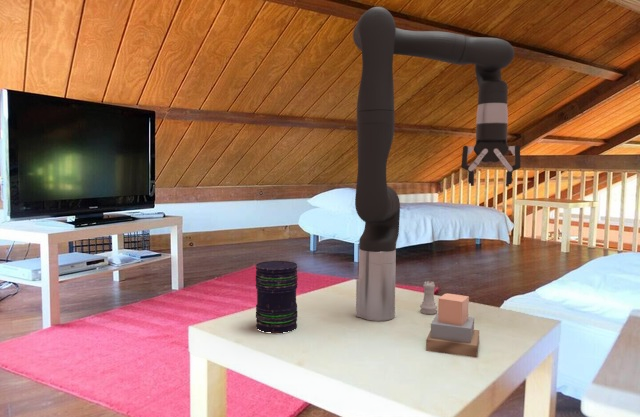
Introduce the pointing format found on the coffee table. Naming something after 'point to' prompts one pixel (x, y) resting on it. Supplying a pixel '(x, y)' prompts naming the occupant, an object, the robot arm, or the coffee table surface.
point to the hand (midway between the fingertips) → (489, 186)
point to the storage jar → (276, 296)
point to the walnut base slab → (454, 345)
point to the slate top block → (453, 330)
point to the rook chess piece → (428, 299)
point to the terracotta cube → (453, 309)
